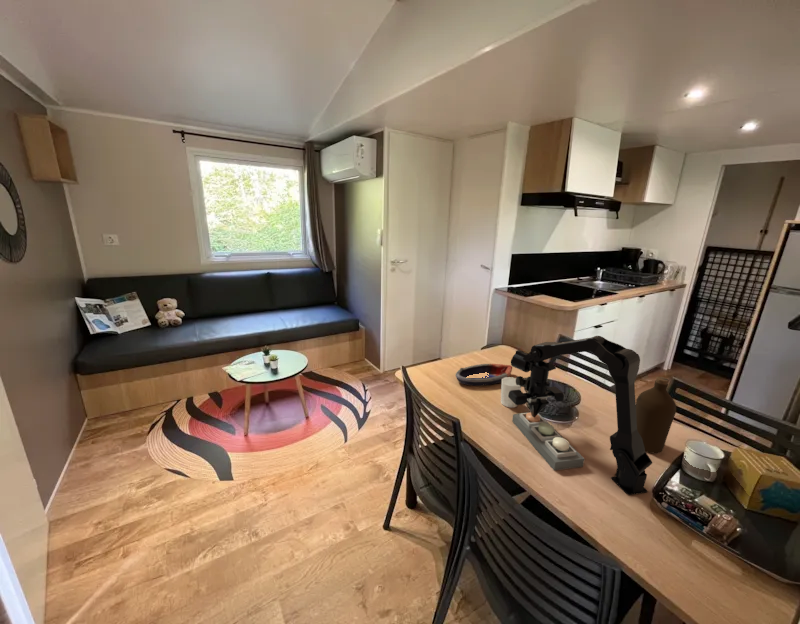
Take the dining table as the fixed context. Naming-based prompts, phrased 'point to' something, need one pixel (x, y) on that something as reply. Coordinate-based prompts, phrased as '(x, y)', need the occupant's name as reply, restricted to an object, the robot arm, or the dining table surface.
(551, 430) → the sage button
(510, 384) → the white cup
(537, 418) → the terracotta button
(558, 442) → the cream button
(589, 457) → the dining table surface
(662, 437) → the olive oil
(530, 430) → the button panel
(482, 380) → the dish
